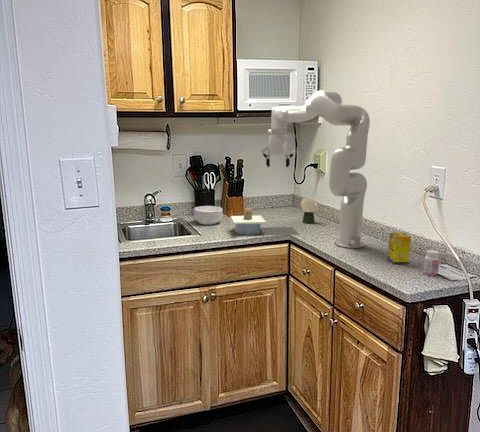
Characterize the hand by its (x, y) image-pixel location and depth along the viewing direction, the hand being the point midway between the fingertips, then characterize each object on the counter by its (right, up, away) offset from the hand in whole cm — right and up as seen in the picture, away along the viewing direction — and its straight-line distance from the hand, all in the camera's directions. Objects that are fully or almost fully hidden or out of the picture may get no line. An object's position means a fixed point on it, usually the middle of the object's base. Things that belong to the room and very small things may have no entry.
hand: (277, 166), depth 228 cm
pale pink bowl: (-36, -29, +10) cm, 47 cm away
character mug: (+17, -29, +11) cm, 36 cm away
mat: (0, -33, -9) cm, 34 cm away
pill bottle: (+49, -46, -68) cm, 95 cm away
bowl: (-15, -33, -10) cm, 38 cm away
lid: (-15, -27, -12) cm, 33 cm away
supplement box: (+42, -43, -54) cm, 81 cm away
